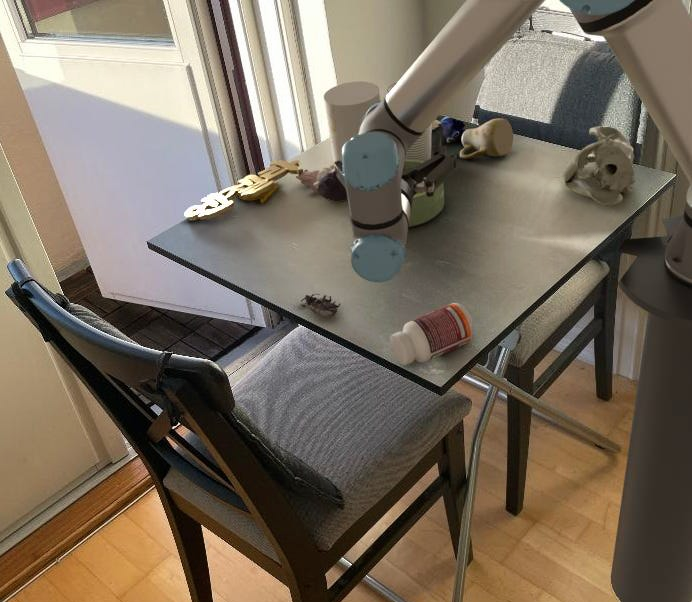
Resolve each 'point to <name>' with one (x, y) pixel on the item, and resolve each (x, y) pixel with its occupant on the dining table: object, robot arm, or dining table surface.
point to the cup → (419, 143)
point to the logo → (262, 194)
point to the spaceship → (452, 129)
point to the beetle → (320, 306)
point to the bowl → (425, 201)
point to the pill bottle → (433, 334)
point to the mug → (488, 139)
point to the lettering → (242, 190)
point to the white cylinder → (348, 111)
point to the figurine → (324, 183)
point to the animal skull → (603, 167)
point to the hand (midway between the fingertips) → (399, 143)
